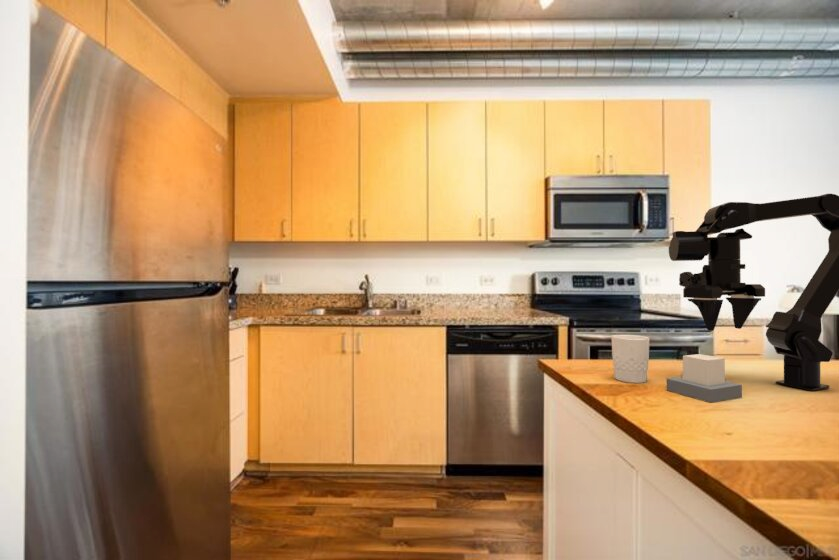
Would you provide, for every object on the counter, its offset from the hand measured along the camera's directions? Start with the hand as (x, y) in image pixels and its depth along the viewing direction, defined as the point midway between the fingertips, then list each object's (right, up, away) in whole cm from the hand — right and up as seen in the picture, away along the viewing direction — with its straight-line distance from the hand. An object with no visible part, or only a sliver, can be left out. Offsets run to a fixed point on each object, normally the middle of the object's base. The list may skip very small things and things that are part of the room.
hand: (724, 329), depth 89 cm
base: (-11, -12, -8) cm, 18 cm away
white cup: (-19, -12, +4) cm, 23 cm away
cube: (-11, -10, -8) cm, 17 cm away
